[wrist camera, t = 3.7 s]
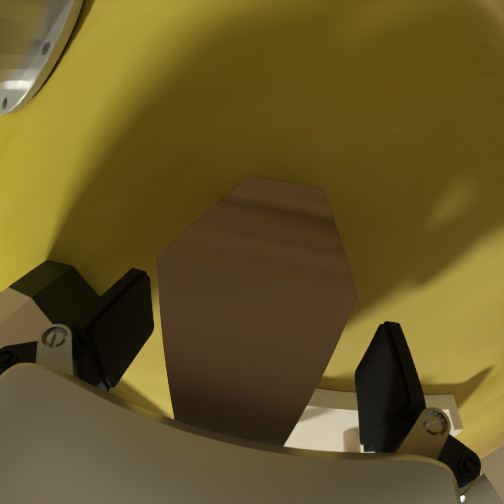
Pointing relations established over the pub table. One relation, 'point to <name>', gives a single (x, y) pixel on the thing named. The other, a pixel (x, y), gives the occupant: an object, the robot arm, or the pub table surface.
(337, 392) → the rack
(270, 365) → the walnut board
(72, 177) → the pub table surface
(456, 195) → the pub table surface
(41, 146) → the pub table surface
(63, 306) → the wine bottle
